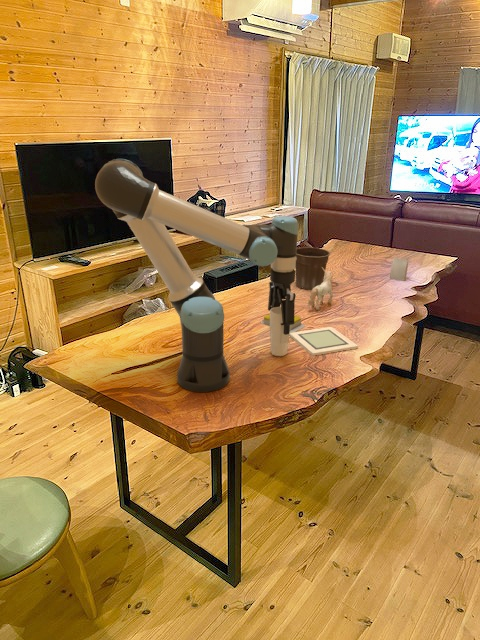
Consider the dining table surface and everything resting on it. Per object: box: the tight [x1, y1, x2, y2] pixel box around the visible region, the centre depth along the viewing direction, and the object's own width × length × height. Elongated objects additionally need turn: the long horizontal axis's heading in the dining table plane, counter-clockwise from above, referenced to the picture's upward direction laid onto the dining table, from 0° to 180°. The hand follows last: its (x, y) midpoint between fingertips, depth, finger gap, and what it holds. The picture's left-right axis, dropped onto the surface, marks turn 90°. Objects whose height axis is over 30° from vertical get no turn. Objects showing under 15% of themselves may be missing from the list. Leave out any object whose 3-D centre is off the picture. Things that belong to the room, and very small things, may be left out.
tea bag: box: [389, 257, 409, 282], centre depth 233 cm, size 4×7×10 cm, turn 58°
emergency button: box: [260, 313, 307, 333], centre depth 180 cm, size 9×4×15 cm
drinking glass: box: [269, 306, 291, 357], centre depth 155 cm, size 7×7×15 cm
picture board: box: [289, 326, 359, 357], centre depth 167 cm, size 17×17×1 cm
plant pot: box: [295, 246, 331, 291], centre depth 220 cm, size 16×16×16 cm
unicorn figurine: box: [307, 267, 334, 312], centre depth 197 cm, size 7×20×13 cm, turn 156°
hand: (279, 337), depth 156 cm, fingers closed on drinking glass, 7 cm apart
